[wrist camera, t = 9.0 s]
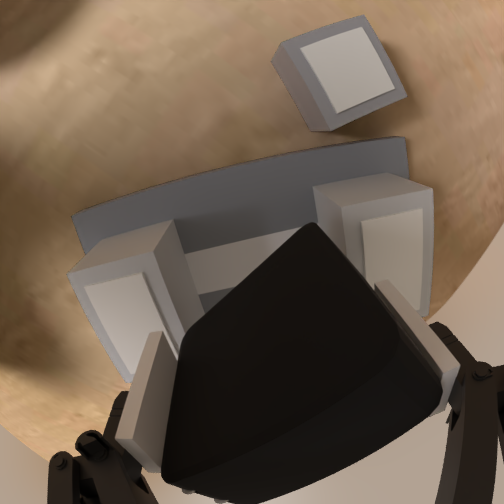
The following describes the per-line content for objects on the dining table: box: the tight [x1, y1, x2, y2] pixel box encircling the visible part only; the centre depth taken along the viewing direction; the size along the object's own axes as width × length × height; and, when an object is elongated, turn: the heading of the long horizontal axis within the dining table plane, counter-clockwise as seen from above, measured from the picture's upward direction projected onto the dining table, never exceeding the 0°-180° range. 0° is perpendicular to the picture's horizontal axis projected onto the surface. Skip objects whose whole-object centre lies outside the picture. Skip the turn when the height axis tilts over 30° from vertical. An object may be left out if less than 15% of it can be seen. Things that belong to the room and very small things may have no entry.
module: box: [271, 15, 408, 131], centre depth 17 cm, size 6×6×5 cm
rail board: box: [67, 136, 434, 383], centre depth 20 cm, size 26×14×8 cm, turn 103°
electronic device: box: [161, 222, 443, 504], centre depth 12 cm, size 4×10×10 cm, turn 134°
